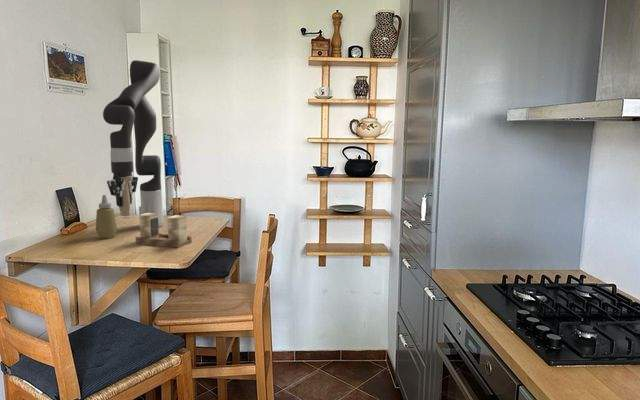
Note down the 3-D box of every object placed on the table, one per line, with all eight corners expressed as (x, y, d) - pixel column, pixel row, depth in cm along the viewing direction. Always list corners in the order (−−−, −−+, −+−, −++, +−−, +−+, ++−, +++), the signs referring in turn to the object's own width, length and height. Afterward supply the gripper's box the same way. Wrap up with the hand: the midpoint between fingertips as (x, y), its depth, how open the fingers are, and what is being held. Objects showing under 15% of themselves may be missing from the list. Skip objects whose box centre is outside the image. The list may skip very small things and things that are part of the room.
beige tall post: (134, 216, 165) (131, 177, 163) (115, 217, 163) (112, 177, 160) (134, 213, 170) (132, 175, 167) (116, 214, 168) (114, 175, 165)
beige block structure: (135, 242, 176) (134, 215, 174) (150, 237, 185) (149, 211, 183) (178, 247, 170) (177, 219, 168) (191, 242, 179) (190, 215, 177)
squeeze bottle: (121, 236, 186) (119, 194, 184) (105, 240, 179) (102, 197, 176) (108, 234, 190) (105, 193, 187) (91, 238, 183) (88, 195, 180)
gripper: (127, 158, 170) (129, 201, 174) (98, 161, 157) (102, 207, 160) (143, 159, 168) (145, 202, 171) (115, 162, 155) (118, 209, 158)
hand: (124, 205), depth 166 cm, fingers closed on beige tall post, 4 cm apart
